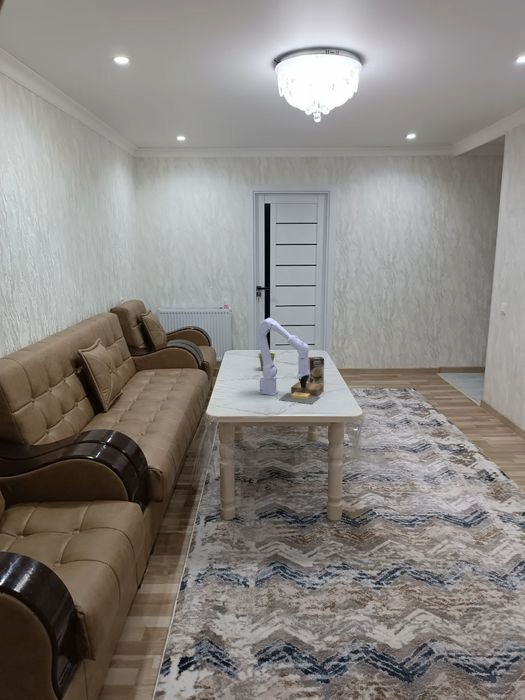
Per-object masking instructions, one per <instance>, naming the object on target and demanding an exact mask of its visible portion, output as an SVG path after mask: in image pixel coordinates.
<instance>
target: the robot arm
mask: <svg viewBox="0 0 525 700" xmlns="http://www.w3.org/2000/svg"><path fill="white" fill-rule="evenodd" d="M269 332H277V333H278V334H279V335H280V336H282V337H283V338H284V339H285V340H287V344H288V345H290V346H291V347H292V348H293V349H295V350H296V351H297V354H298V359H297V360H298V367H297V368H298V373H297V380H298V382H300V384H301V388H306V384H307V383H308V382H307V380H308V378H309V375H310V373H309V370H308V365H309V357H310V356H309V351H310V349H311V348H310V346H309V344H308V343H306V342H304V341H302V340H301V339H299V336H298V335H295V334H294V335H293V334H290V333H289V332H288V331H287V330H286V329H285V328H284V327H283V326H282V325H280V324H279V322H278V320H277V321H276V320H275V319H273V318H272V317H268V318H266V319H263V320H261V322H259V324H258V328H257V332H256V338H257V342H258V345H259V350H260V353H261V355H262V359H263V371H262V377H260V380H259V394H260V395H262V394H263V395H270V396H274V395H276V394H278V393H279V391H280V390H277V376H276V375H277V374H278V368H277V367H276V365H275V363H274V360H273V361H272V358H271V354H270V353H271V350H270V346H269V343H268V337H267V334H268V333H269Z"/></svg>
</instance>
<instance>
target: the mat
mask: <svg viewBox="0 0 525 700" xmlns="http://www.w3.org/2000/svg"><path fill="white" fill-rule="evenodd" d="M292 394H293V393H291V392H287V393H285V394H283V396H282V397H280V398H279V399H278V401H282V402H288V401H289V402H291V403H296V402H299V403H298V404H305V403H309V404H308V405H314V404H315V403H316V402H317V401H318V400H319V399H321V396H310V397H309V398H308V399H307V400H302V399H293V398H291V395H292ZM315 401H316V402H315ZM289 402H288V403H289ZM314 402H315V403H314ZM313 403H314V404H313Z"/></svg>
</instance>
